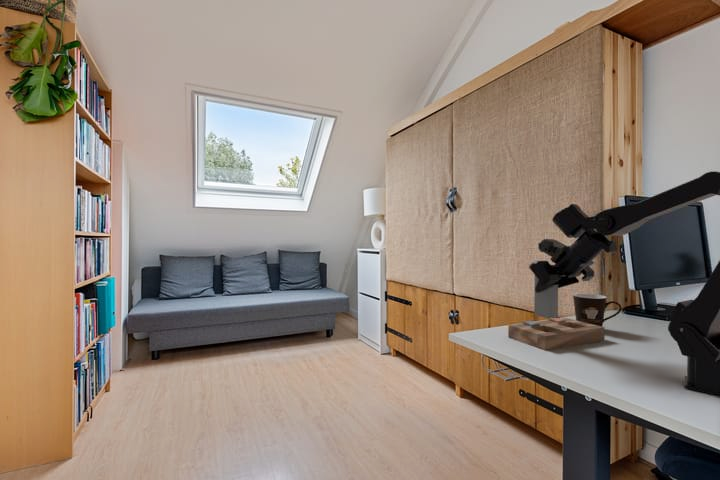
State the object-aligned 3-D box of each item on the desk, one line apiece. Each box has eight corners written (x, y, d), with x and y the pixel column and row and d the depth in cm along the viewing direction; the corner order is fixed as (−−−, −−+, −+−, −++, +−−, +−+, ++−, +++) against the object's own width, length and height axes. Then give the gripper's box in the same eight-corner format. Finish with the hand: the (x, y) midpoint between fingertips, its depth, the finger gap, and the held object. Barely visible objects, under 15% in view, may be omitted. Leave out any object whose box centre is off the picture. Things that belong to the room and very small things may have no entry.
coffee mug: (568, 328, 111) (568, 295, 110) (578, 323, 116) (579, 292, 116) (613, 336, 102) (613, 301, 102) (622, 331, 107) (622, 297, 107)
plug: (557, 316, 96) (558, 265, 96) (547, 318, 94) (548, 266, 94) (544, 313, 100) (544, 264, 99) (534, 315, 98) (534, 264, 98)
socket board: (604, 340, 98) (604, 325, 98) (544, 350, 90) (544, 333, 90) (564, 329, 110) (564, 315, 110) (508, 337, 101) (508, 322, 101)
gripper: (583, 228, 97) (545, 266, 107) (536, 228, 89) (500, 269, 99) (614, 259, 90) (570, 297, 100) (566, 262, 82) (524, 303, 92)
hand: (541, 290), depth 98 cm, fingers closed on plug, 4 cm apart
